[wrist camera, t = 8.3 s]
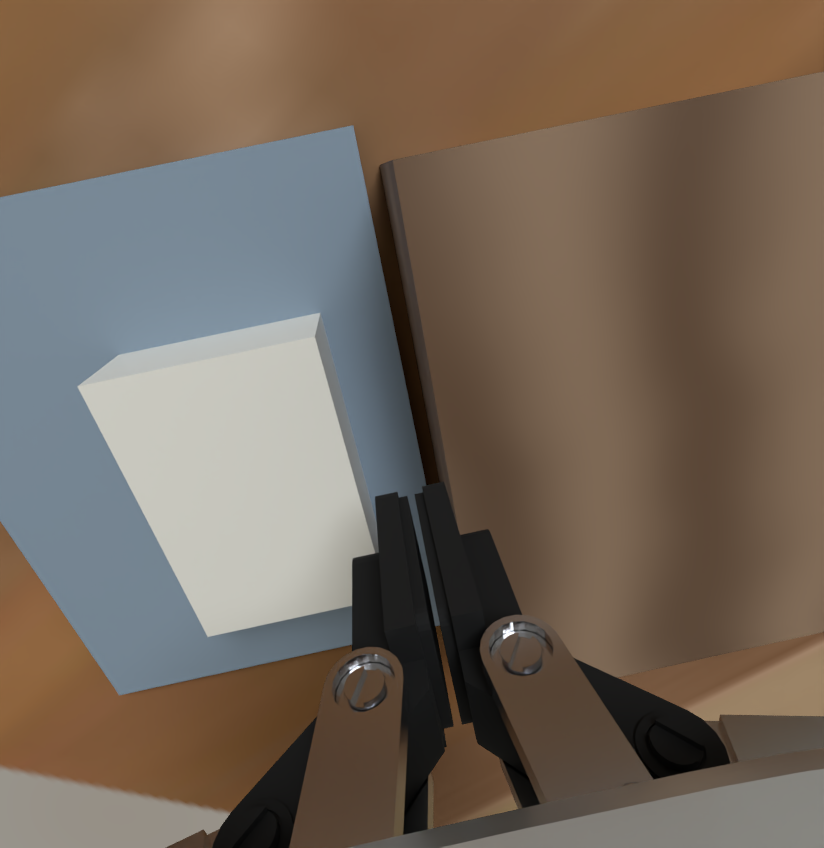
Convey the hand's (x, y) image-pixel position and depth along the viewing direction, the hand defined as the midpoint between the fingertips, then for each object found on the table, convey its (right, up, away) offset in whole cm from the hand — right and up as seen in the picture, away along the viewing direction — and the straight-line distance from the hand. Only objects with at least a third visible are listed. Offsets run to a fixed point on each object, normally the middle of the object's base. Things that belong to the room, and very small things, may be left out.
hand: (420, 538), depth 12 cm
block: (-5, 0, +3) cm, 5 cm away
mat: (-7, +1, +5) cm, 9 cm away
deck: (+7, +4, +5) cm, 10 cm away
